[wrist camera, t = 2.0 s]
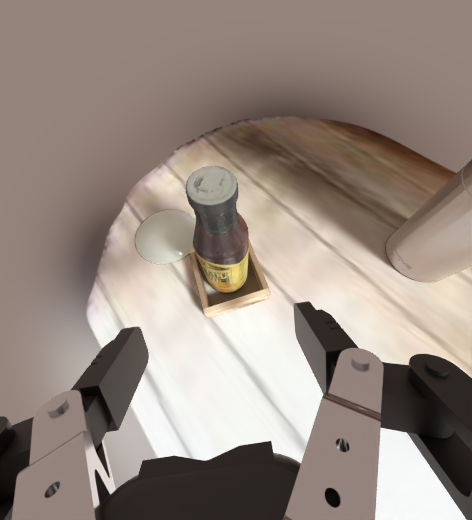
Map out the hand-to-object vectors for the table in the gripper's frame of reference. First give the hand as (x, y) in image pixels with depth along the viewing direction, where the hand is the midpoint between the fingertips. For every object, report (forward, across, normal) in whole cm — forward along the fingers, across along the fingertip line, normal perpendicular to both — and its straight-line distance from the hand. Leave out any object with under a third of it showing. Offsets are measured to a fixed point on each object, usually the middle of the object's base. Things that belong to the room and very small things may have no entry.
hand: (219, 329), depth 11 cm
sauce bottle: (+22, 0, +7) cm, 23 cm away
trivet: (+29, +10, 0) cm, 30 cm away
